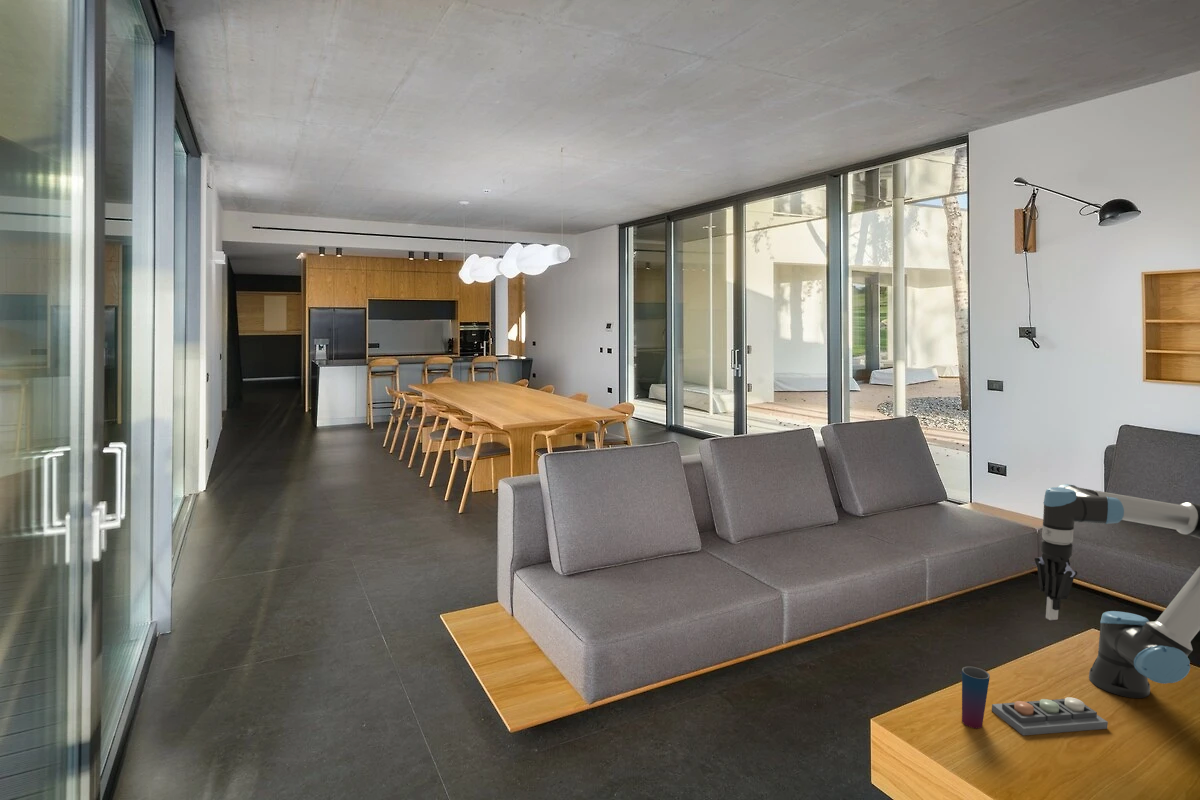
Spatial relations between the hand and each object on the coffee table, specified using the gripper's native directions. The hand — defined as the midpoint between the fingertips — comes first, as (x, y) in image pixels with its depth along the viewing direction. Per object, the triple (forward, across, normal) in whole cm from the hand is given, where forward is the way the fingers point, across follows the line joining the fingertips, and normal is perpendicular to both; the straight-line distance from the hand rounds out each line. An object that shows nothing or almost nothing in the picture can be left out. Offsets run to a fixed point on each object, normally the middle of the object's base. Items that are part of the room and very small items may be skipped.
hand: (1051, 618), depth 198 cm
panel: (+26, +9, -8) cm, 28 cm away
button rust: (+23, +9, -16) cm, 29 cm away
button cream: (+23, +9, 0) cm, 25 cm away
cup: (+25, +7, -30) cm, 40 cm away
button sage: (+23, +9, -8) cm, 26 cm away
